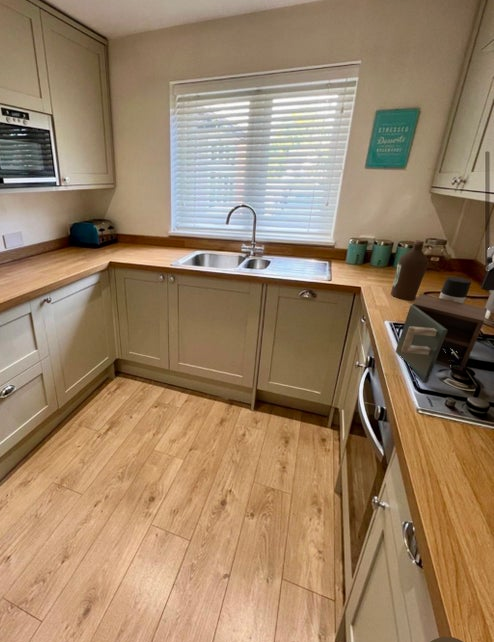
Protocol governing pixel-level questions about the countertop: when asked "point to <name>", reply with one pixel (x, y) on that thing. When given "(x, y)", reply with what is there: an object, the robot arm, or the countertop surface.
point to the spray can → (455, 289)
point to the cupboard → (453, 325)
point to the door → (420, 342)
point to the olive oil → (410, 273)
